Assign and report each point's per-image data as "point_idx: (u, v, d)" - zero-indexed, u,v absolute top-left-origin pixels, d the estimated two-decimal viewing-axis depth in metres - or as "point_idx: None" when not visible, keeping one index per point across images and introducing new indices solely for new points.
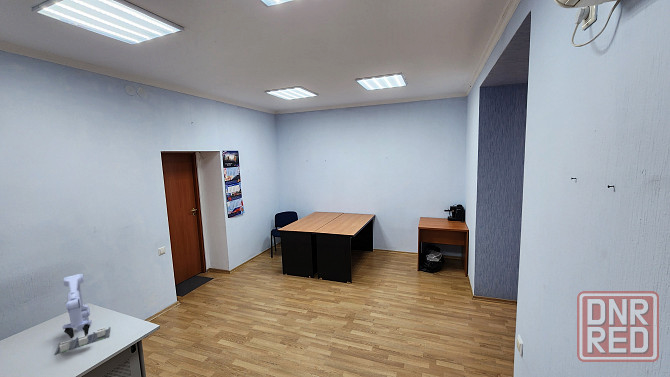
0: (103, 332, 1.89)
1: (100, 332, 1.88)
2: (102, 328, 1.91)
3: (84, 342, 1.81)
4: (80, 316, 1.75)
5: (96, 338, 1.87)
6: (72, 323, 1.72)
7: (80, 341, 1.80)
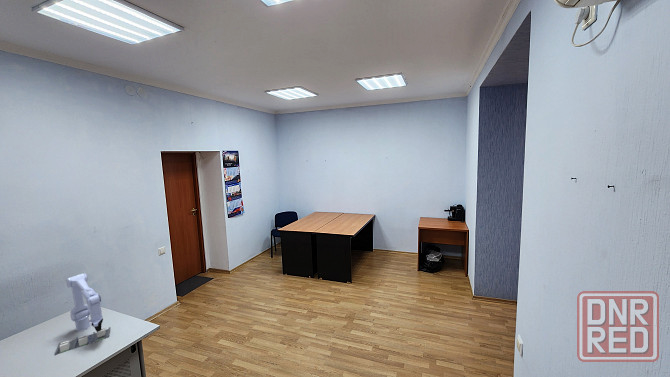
0: (103, 332, 1.89)
1: (100, 332, 1.88)
2: (102, 328, 1.91)
3: (84, 342, 1.81)
4: (100, 310, 1.83)
5: (96, 338, 1.87)
6: None
7: (80, 341, 1.80)
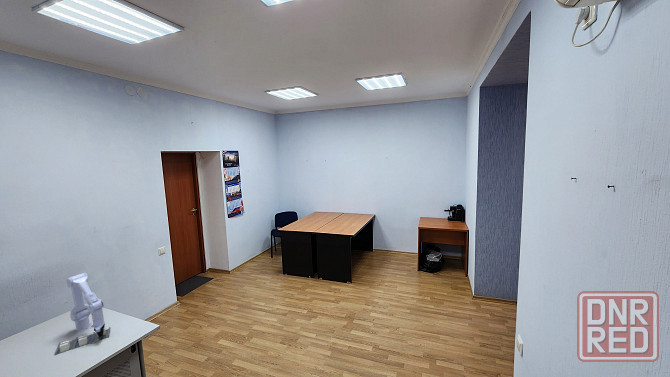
0: (103, 331, 1.90)
1: None
2: None
3: (84, 342, 1.81)
4: None
5: (96, 338, 1.87)
6: None
7: (80, 341, 1.80)
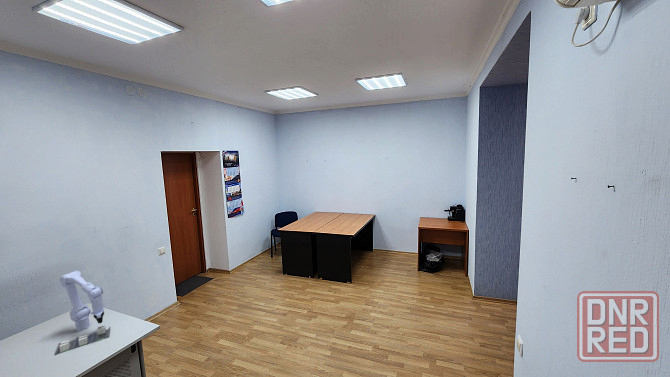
0: (103, 330, 1.92)
1: (101, 330, 1.91)
2: (102, 326, 1.94)
3: (84, 342, 1.81)
4: (102, 303, 1.91)
5: (96, 338, 1.87)
6: None
7: (80, 341, 1.80)
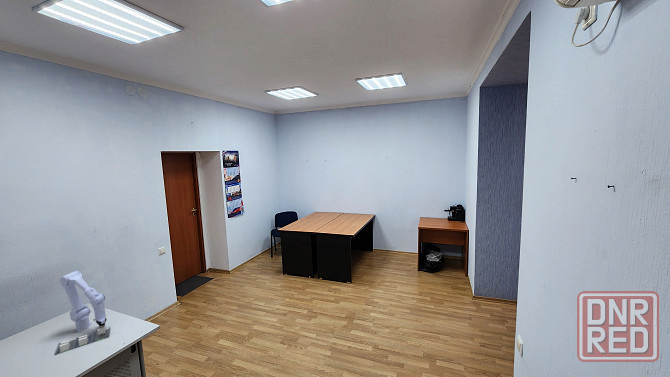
0: (103, 330, 1.92)
1: (100, 330, 1.91)
2: (102, 326, 1.94)
3: (84, 342, 1.81)
4: (104, 309, 1.96)
5: (96, 338, 1.87)
6: None
7: (80, 341, 1.80)
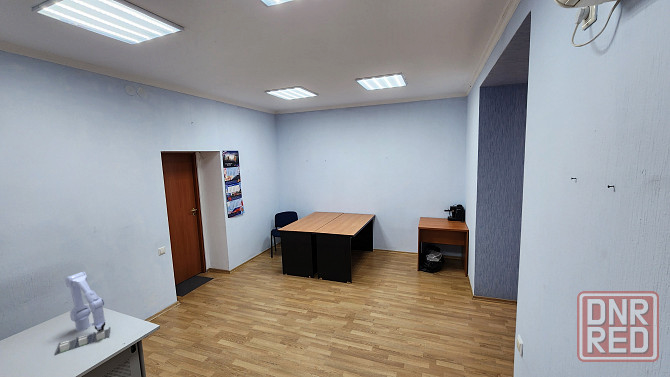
0: (103, 335, 1.87)
1: (99, 335, 1.86)
2: (101, 331, 1.88)
3: (84, 342, 1.81)
4: (103, 314, 1.89)
5: (96, 338, 1.87)
6: None
7: (80, 341, 1.80)
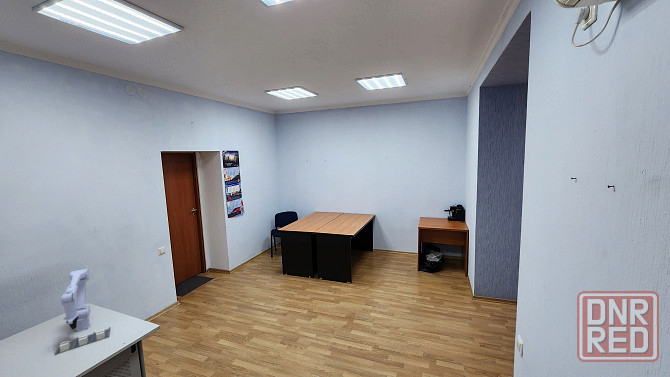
0: (103, 335, 1.87)
1: (99, 335, 1.86)
2: (102, 330, 1.89)
3: (84, 342, 1.81)
4: (74, 310, 1.83)
5: (96, 338, 1.87)
6: None
7: (80, 341, 1.80)
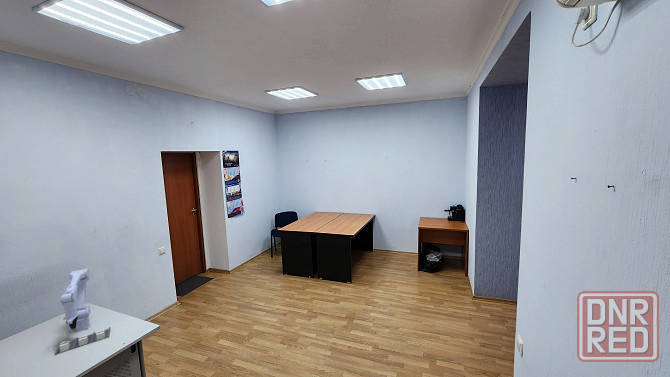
0: (103, 335, 1.87)
1: (99, 335, 1.86)
2: (102, 330, 1.89)
3: (84, 342, 1.81)
4: (73, 310, 1.82)
5: (96, 338, 1.87)
6: None
7: (80, 341, 1.80)
